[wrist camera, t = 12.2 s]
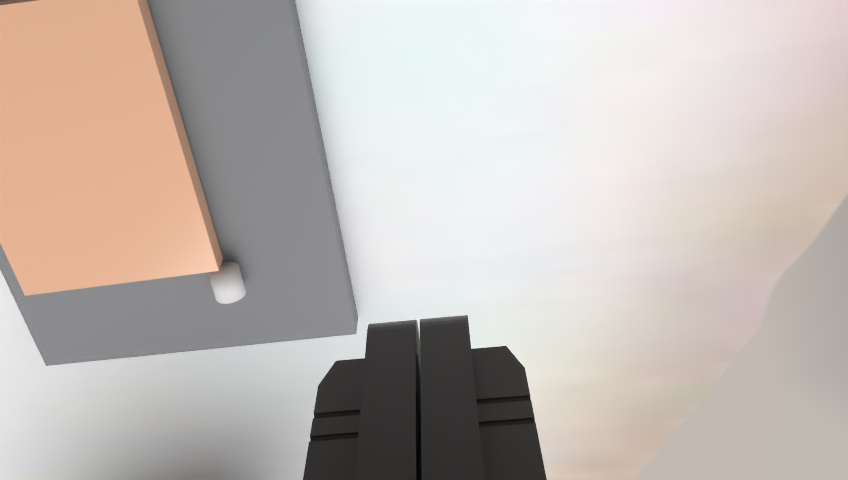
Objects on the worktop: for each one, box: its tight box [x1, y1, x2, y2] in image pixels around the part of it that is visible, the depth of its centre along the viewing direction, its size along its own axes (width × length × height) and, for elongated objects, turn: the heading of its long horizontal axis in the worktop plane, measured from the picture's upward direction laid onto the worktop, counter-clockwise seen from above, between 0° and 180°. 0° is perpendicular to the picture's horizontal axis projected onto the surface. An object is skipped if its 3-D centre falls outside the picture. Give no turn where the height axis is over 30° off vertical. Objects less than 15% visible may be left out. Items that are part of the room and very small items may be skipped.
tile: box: [0, 0, 223, 296], centre depth 35 cm, size 14×10×2 cm
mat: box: [0, 0, 358, 366], centre depth 36 cm, size 26×18×3 cm
